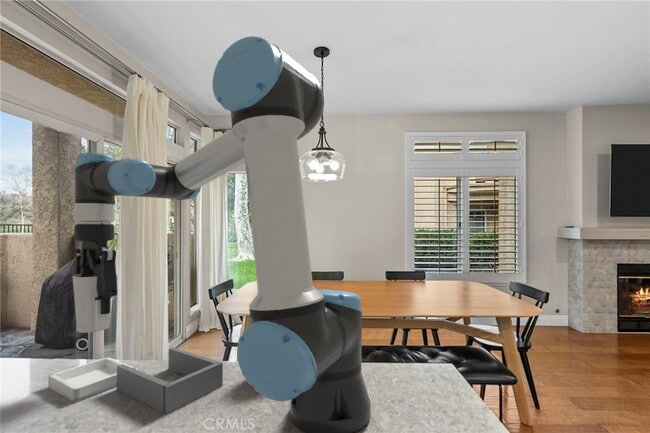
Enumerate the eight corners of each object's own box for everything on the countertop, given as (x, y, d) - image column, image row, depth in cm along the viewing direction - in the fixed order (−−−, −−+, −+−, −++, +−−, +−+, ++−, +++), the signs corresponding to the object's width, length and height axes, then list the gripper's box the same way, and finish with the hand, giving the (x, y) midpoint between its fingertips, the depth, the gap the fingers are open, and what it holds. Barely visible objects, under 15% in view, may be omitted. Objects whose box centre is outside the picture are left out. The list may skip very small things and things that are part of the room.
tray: (135, 379, 80) (135, 368, 80) (74, 403, 69) (74, 389, 69) (107, 367, 86) (107, 356, 86) (48, 387, 76) (48, 375, 76)
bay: (222, 385, 77) (222, 362, 77) (166, 414, 65) (167, 387, 65) (172, 367, 86) (173, 347, 86) (116, 389, 75) (116, 366, 75)
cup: (93, 335, 73) (94, 277, 73) (62, 332, 75) (63, 276, 75) (122, 324, 81) (123, 272, 81) (93, 321, 83) (94, 271, 83)
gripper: (136, 223, 76) (135, 328, 76) (91, 222, 87) (89, 314, 86) (99, 223, 70) (98, 338, 69) (55, 222, 80) (53, 322, 80)
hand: (93, 325), depth 78 cm, fingers closed on cup, 7 cm apart
